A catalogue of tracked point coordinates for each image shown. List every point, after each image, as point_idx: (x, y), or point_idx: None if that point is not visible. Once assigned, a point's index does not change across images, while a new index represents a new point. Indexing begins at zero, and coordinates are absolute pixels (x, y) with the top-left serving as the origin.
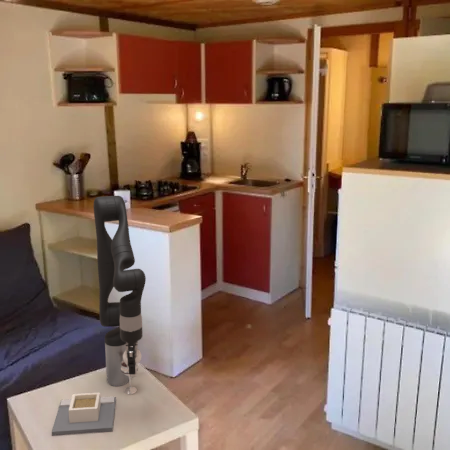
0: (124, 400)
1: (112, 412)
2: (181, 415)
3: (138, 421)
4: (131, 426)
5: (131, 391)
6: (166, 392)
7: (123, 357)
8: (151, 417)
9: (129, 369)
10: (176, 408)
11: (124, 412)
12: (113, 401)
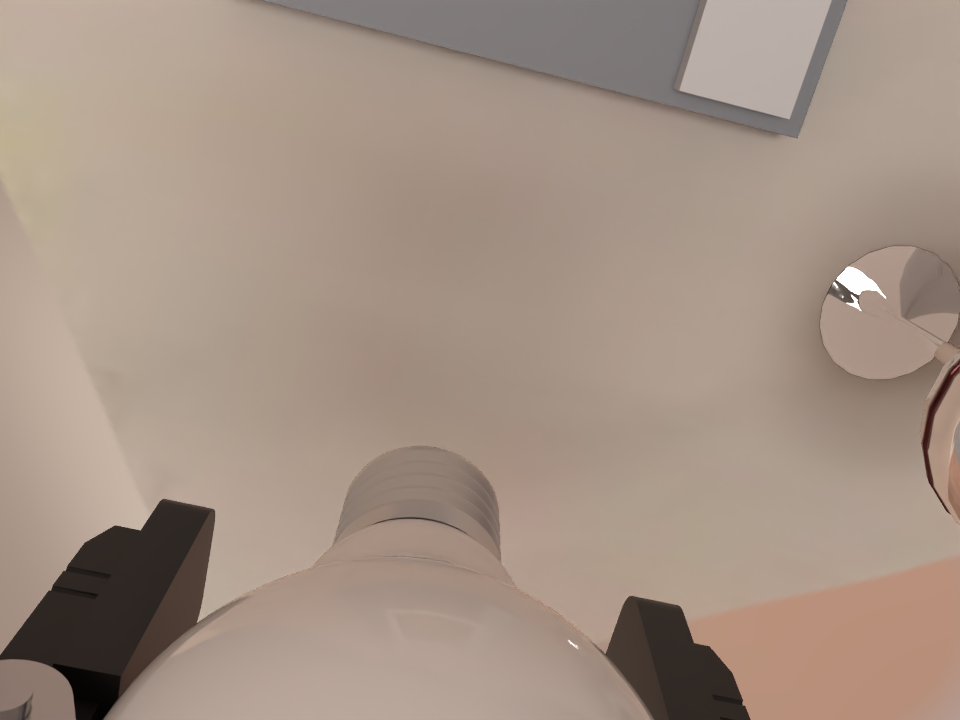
0: (739, 221)
1: (506, 43)
2: None
3: (326, 287)
4: (265, 205)
5: (854, 323)
6: (689, 617)
7: (297, 675)
8: (352, 415)
9: (111, 583)
10: None
11: (525, 181)
12: (686, 89)
